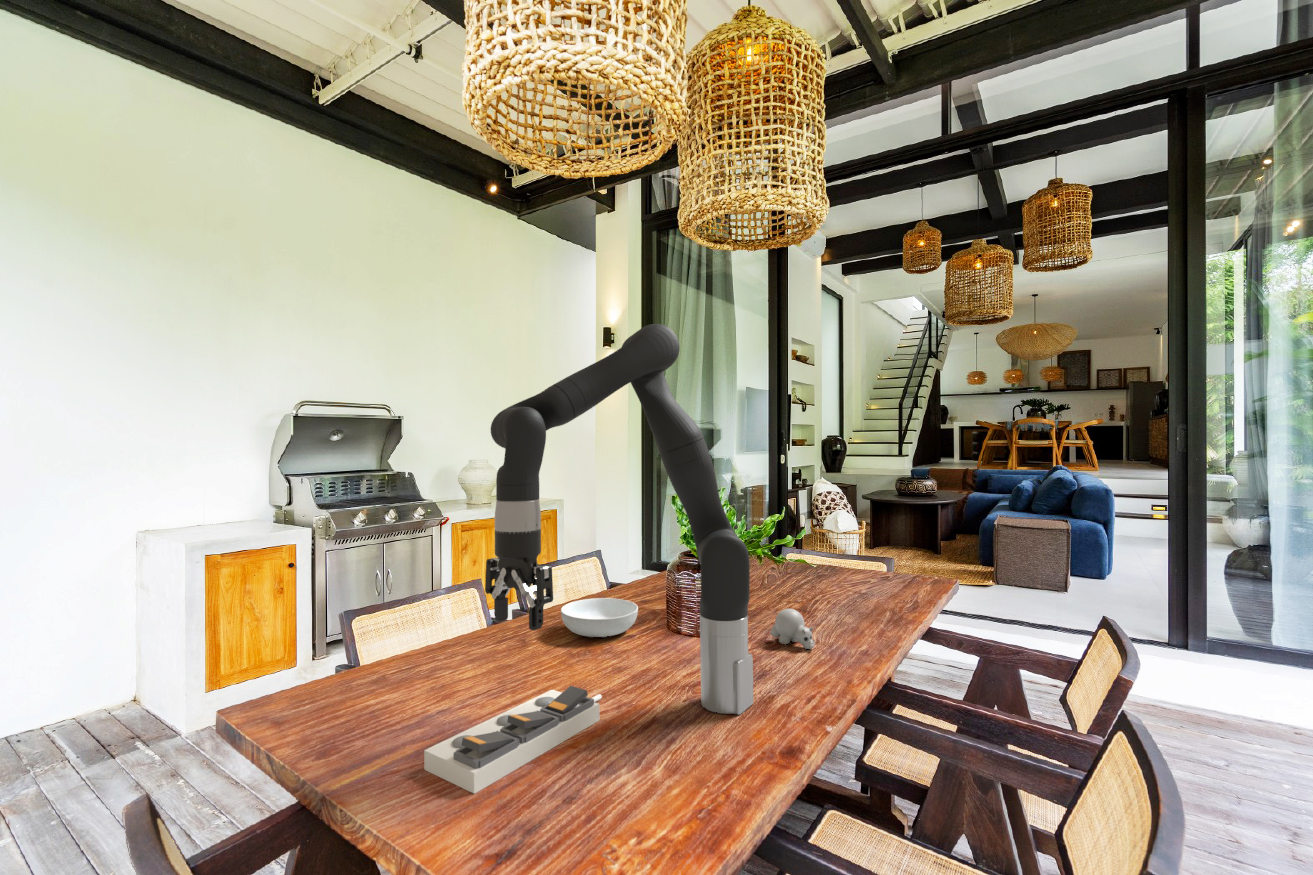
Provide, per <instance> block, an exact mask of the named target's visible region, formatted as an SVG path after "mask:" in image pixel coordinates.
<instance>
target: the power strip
mask: <svg viewBox="0 0 1313 875" xmlns="http://www.w3.org/2000/svg"><path fill="white" fill-rule="evenodd" d="M561 693H563V692H562V691H558V690H556V689H555V690H554V689H550V690H548V691H546V692H544V693H542V694H540V695H538V696H536V697H533V698H531V699H530V700H527V701H524V702H523V703H521V704H519V705H516V706H514V707H512V708H510V709H509V710H508V709H507V710H505V711H504V712H502V713H499V714H498V715H495V716H493V717H491V718H489V719H487V720H485V721H482V722H481V723H479V724H476V725H474V726H472V727H469V728H468V729H466V730H464V731H461V732H459V733H457V734H455V735H453V736H451V737H449V738H447V739H445V740H443V741H440V742H438V743H437V744H434V745H433V746H430V747H428V748H426V749H424V752H423V754H424V757H423V760H424V762H423V763H424V765H423V768H424V770H425V771H427V772H428V773H430V774H432V775H434V776H437V777H439V778H441V779H443V780H445V781H446V782H449V783H452V784H453V785H455V786H457V787H459V788H461V789H464V790H465V791H468V792H470V793H471V794H474V795H475V794H477V793H478V792H480V791H482V790H484V789H485V788H487V787H489V786H491V785H492V784H494V783H495V782H497V781H499V780H500V779H502V778H504V777H506V776H507V775H509V774H511V773H512V772H514V771H516V770H517V769H520V768H521V767H522V766H524V765H526V764H528V763H529V762H531V761H533V760H534V759H536V758H538V757H540V756H541V755H543V754H545V753H547V752H549V750H551V749H553V748H555V747H557V746H558V745H560V744H561V743H563V742H565V741H567V740H568V739H570V738H572V737H574V736H575V735H577V734H578V733H580V732H582V731H584V730H586V729H587V728H589V727H591V726H592V725H594V724H596V723H598V722H599V721H600V720H601V718H600V712H601V711H600V703H599V702H598V701H600V700H601V699H603V698H602V697H603V696H602V694H601V693H597V694H596V695H595V696H592V697H589V696H587V697H585V698H584V699H583V700H582V701H581V702H580V703H579V704H578V705H577V706H575V707H574V708H573V709H572V710H571V711H569V712H567V713H565V714H560V713H557V712H554V711H551V710H548V709H547V705H549V704H550V703H551V702H552V701H553V700H554V699H556V698H557V697H558V696H559V695H560V694H561ZM529 712H539V713H542V714H545V715H548V716H551V717H553V719H552V721H550V722H548V723H547V724H545V725H540V726H535V727H530V728H521V727H519V726H516V725H513V724H510V723H508V722H507V721H508V716H510V715H517V714H523V713H529ZM493 732H496V733H499V734H501V735H504V736H507V737H509V738H512V742H511V743H509V744H507V745H506V746H504V747H501V748H497V749H492V750H487V751H483V752H477V751H474V750H472V749H470V748H467V747H465V746H462V739H463V738H465V737H470V736H476V735H482V734H487V733H493Z"/></svg>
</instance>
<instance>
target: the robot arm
mask: <svg viewBox="0 0 1313 875" xmlns="http://www.w3.org/2000/svg"><path fill="white" fill-rule="evenodd" d="M680 349H681V348H680V341H679V338H678V335H676V332H674V331H673V330H672V328H670V327H668V326H667V325H664V324H661V323H652V324H648V325H644V326H643V327H641V328H640V329H639V330H637V331H636V332H634V333H633V334H632V335H630V336H629V337H627V338H626V339H625V340H624V341H623V343H622V346H621V347H620V348H618V349H617V350H615V351H614V352H612V353H610V354H608V355H607V356H605V357H603V358H602V359H600V360H598V361H596V362H593V363H592V364H590V365H588V366H586V367H583V368H582V369H581V370H579V371H576V372H574V373H572V374H570V375H569V376H566V377H565V378H562V379H560V380H559V381H557V382H556V383H554V384H552V385H550V386H548V387H547V388H546V389H544V390H543V391H541V392H539V393H537V394H536V395H533V396H530V397H528V398H526V399H523V400H521V401H519V402H516V403H514V404H512V405H510V406H508V407H505V409H503V410H501V411H500V412H498V413H497V414H496V415H495V416H494V418H493V420H492V421H491V425H490V434H491V435H490V436H491V438H492V440H493V441H494V443H495V444H496V445H497V446H499V447H501V448H502V449H504V459H503V464H502V466H500V467H499V468H498V470H497V472H496V477H495V478H496V479H495V480H496V481H495V482H496V483H495V484H496V487H495V488H496V489H495V490H496V491H495V492H496V494H495V495H496V496H495V499H496V502H495V510H494V511H495V512H494V556H496V557H492V558H487V559H486V562H485V581H484V582H485V585H484V591H485V593H486V594H487V595H488V594H490V595H491V598H492V599H494V608H493V609H494V610H493V613H494V620H495V622H498V623H500V622H503V621H506V620H508V617H509V597H507V596H508V595H509V593H510V590H511V589H514V590H517V591H520V593H521V595H522V596H523V597H525V598H526V600H527V604H529V607H528V628H529V630H530V631H537V630H540V629H541V628H543V625H544V606H545V605H546V604H548V603H553V601H554V585H553V584H554V583H553V582H554V581H553V569H552V568H553V567H552V565H551V564H546V565H539V564H538V560H537V559H538V556H540V554H542V553H541V552H542V542H541V541H542V536H541V535H542V512H541V504H540V471H541V467H542V464H543V458H544V453H545V449H546V448H545V447H546V441H547V431H548V430H550V429H553V428H556V427H561V426H564V425H566V424H568V423H569V422H570V423H571V421H573V420H575V419H576V418H578V417H580V416H581V415H583V414H585V413H586V412H588V411H590V410H591V409H593V408H595V406H597V405H598V404H600V403H602V402H603V401H604V400H605V399H606V398H608V397H610V396H611V395H612V394H614V393H616V392H617V391H619V390H620V389H622V388H623V387H625V386H627V385H628V384H630V385H631V387H632V389H633V390H634V393H635V394H636V396H637V398H638V401H639V403H640V404H641V407H642V410H643V412H644V415H645V417H646V421H647V422H648V426H649V428H650V431H651V433H652V436H653V438H654V441H655V444H656V446H657V450H658V453H659V456H660V458H661V462H662V465H663V466H664V468H665V472H666V474H667V477H668V478H669V481H670V483H671V486H672V488H673V490H674V492H675V494H676V496H677V498H678V499H679V501H680V503H681V506H682V507H683V509H684V511H685V513H686V516H687V519H688V522H689V525H690V528H691V531H692V537H693V539H694V544H695V548H696V553H697V558H698V562H699V564H700V599H699V639H700V641H699V642H700V643H699V645H700V646H699V648H700V656H699V657H700V700H701V702H700V703H701V705H702V707H703V708H704V707H705V708H706V710H707V711H710V712H713V713H716V712H717V714H723V715H725V714H730V715H731V714H734V715H742V713H744V711H746V710H747V709H749V708H750V707H751V706H752V705H753V704H754V674H753V673H754V672H753V671H754V668H753V667H754V665H753V658H754V657H753V654H752V653H749V627H748V626H749V624H748V623H749V622H748V617H749V615H748V614H749V613H748V612H749V611H748V610H749V608H748V607H749V602H750V595H751V594H750V588H751V587H750V586H751V585H750V581H751V580H750V579H751V578H750V577H751V576H750V573H751V570H750V569H751V567H750V554H749V550H748V548H747V546H746V544H745V543H744V542H743V540H742V539H740V537H739V536H738V535H737V534H736V532H735V530H734V528H733V527H732V524H731V523H730V520H729V517H728V516H727V514H726V511H725V509H724V506H723V504H722V501H721V498H720V497H721V496H720V492H719V487H718V482H717V477H716V476H717V475H716V473H715V468H714V463H713V460H712V458H711V453H710V452H709V449H708V448H709V447H708V445H707V443H706V440H705V438H704V435H703V433H702V430H701V429H700V427H699V426H698V425H697V423H696V422H695V421H694V419H693V418H692V417H691V416H690V415H689V414H688V413H687V411H685V410H684V409H683V407H682V406H681V405H680V404H679V403H678V402H677V401H676V399H675V397H674V396H673V394H672V392H671V389H670V387H669V385H668V382H667V379H666V377H665V376H666V375H665V371H666V370H668V369H669V368H670V367H672V366H673V364H674V363H675V362H676V361H677V359H678V357H679V355H680ZM493 580H494V584H493ZM705 708H704V709H705Z"/></svg>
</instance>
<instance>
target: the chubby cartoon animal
mask: <svg viewBox="0 0 1313 875" xmlns="http://www.w3.org/2000/svg"><path fill="white" fill-rule="evenodd" d="M813 629H814V627H812V626H811V627H807V626H805V620H804V617H803V615H802V614H801V613H800V612H799V611H798V610H796V609H794V608H785V609H782V610H780V611H779V612H778V613H777V614H776V618H775V622H774V625H773V626H772V628H771V630H770V635H771V636H772V637H775V638H778V642H779V643H780V644H781V643H782V644H788V643H789V644H790V643H792V642H797V641H798V642H797V643H799V644H800V645H801V646H802V647H803V649H804V648H805V649H804V650H806V649H811V650H812V649H813V648H814V647H815V640H814V639H813ZM790 641H792V642H790ZM782 644H781V645H782ZM789 644H788V645H789Z"/></svg>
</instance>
